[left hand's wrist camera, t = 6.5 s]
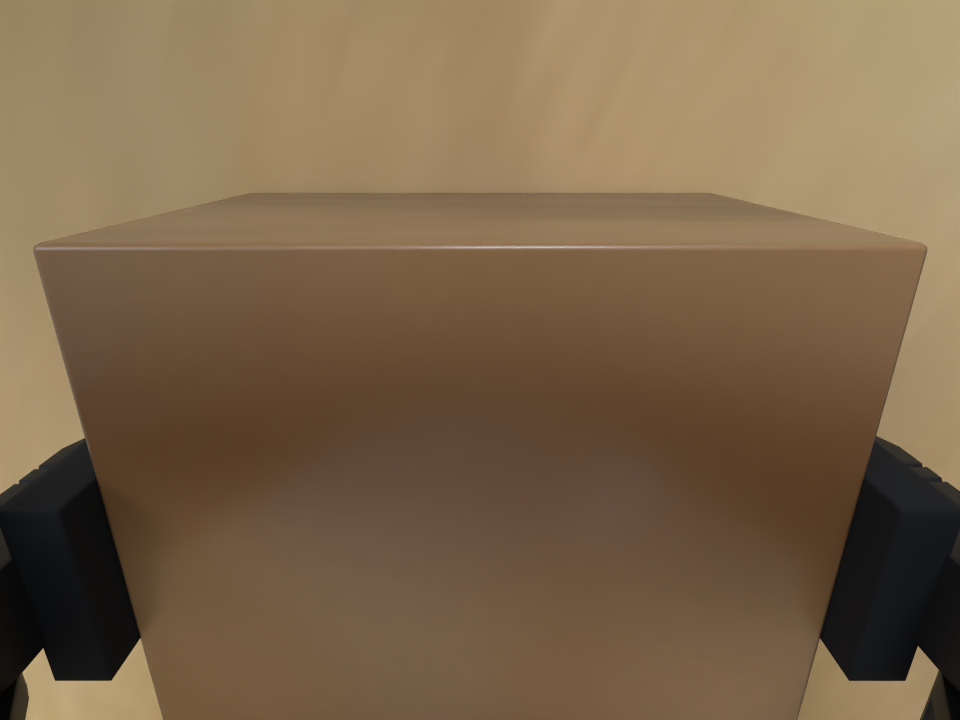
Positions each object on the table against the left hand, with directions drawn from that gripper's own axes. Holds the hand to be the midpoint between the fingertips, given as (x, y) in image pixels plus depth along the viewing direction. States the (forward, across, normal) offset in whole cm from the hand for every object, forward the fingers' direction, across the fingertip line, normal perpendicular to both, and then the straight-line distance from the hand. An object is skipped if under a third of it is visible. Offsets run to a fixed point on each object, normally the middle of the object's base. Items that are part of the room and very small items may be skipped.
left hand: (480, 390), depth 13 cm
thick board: (0, 0, -21) cm, 21 cm away
